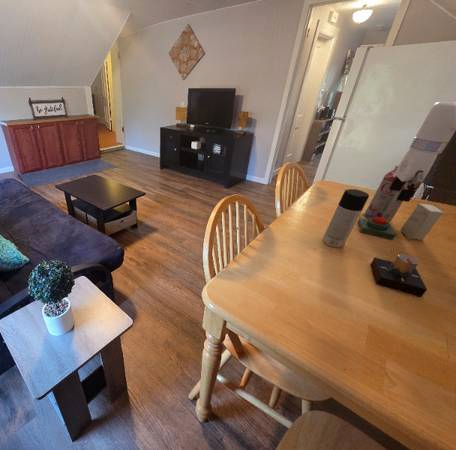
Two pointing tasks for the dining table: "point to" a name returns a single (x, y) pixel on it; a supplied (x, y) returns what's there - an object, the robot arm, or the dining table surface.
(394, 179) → the robot arm
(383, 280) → the hob panel
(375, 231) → the button box
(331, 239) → the spray can
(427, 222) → the cosmetic box
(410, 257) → the hob knob
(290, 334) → the dining table surface
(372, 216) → the juice carton
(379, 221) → the button
